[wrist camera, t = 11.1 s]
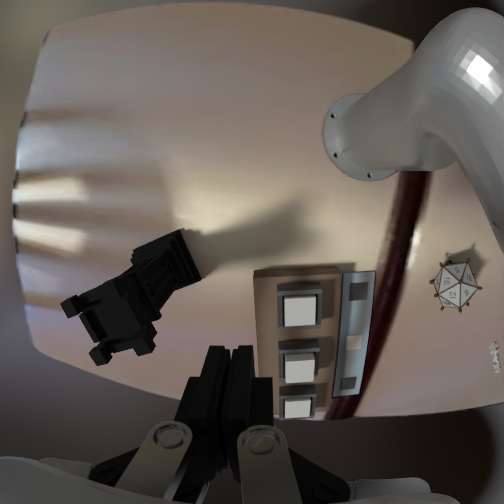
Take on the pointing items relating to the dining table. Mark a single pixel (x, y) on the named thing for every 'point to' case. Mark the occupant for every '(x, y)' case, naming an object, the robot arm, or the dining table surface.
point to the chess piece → (134, 298)
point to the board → (314, 332)
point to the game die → (455, 285)
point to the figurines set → (495, 357)
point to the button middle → (299, 367)
